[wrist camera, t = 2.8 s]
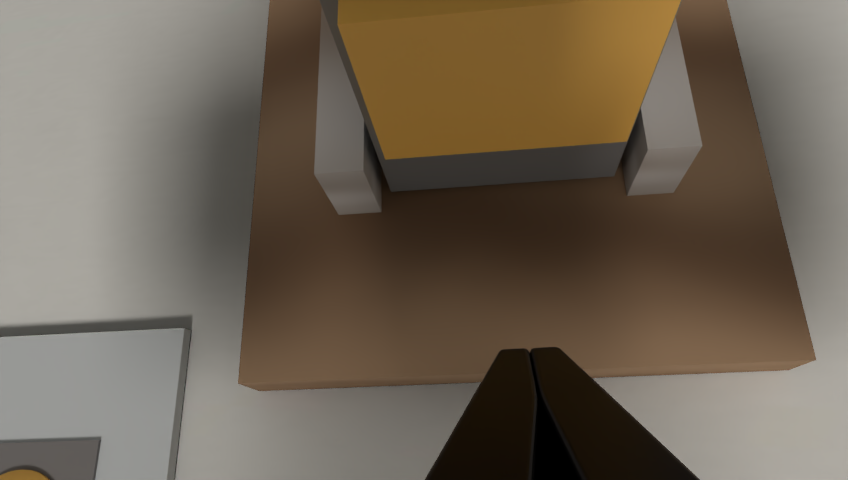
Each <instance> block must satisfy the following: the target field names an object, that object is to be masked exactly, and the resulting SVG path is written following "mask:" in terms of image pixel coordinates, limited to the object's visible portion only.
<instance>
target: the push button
mask: <svg viewBox="0 0 848 480" xmlns="http://www.w3.org/2000/svg"><path fill="white" fill-rule="evenodd" d="M319 1H320V3H321V6H322V9H323V11H324V14H325V17H326V19H327V22H328V25H329V27H330V30H331V33H332V35H333V38H334V41H335V43H336V46H337V49H338V51H339V54H340V57H341V59H342V62H343V65H344V67H345V70H346V73H347V75H348V78H349V81H350V83H351V86H352V89H353V92H354V94H355V97H356V100H357V102H358V105H359V108H360V110H361V113H362V116H363V118H364V121H365V124H366V126H367V129H368V132H369V134H370V137H371V140H372V142H373V145H374V148H375V150H376V153H377V156H378V158H379V161H380V164H381V166H382V169H383V172H384V174H385V177H386V180H387V182H388V185H389V188H390V190H391V192H397V191H411V190H425V189H440V188H454V187H469V186H483V185H498V184H512V183H526V182H541V181H555V180H570V179H584V178H598V177H613V176H615V173H616V170H617V168H618V165H619V163H620V160H621V157H622V155H623V152H624V150H625V147H626V144H627V142H628V139H629V137H630V134H631V131H632V129H633V126H634V124H635V121H636V119H637V116H638V113H639V111H640V108H641V106H642V103H643V100H644V98H645V95H646V93H647V90H648V87H649V85H650V82H651V80H652V77H653V74H654V72H655V69H656V67H657V64H658V61H659V59H660V56H661V54H662V51H663V49H664V46H665V43H666V41H667V38H668V36H669V33H670V30H671V28H672V25H673V23H674V20H675V17H676V15H677V12H678V10H679V7H680V4H681V2H682V0H319Z"/></svg>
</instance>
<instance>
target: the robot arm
mask: <svg viewBox="0 0 848 480" xmlns="http://www.w3.org/2000/svg"><path fill="white" fill-rule="evenodd" d="M425 480H700V479H699V478H697V477H696V476H695V475H694V474H693V473H692V472H691V471H690V470H689V469H688V468H687V467H686V466H685V465H684V464H683V463H681V462H680V461H679V460H678V459H677V458H676V457H675V456H674V455H673V454H672V453H671V452H670V451H669V450H668V449H667V448H666V447H664V446H663V445H662V444H661V443H660V442H659V441H658V440H657V439H656V438H655V437H654V436H653V435H652V434H651V433H650V432H649V431H647V430H646V429H645V428H644V427H643V426H642V425H641V424H640V423H639V422H638V421H637V420H636V419H635V418H634V417H633V416H631V415H630V414H629V413H628V412H627V411H626V410H625V409H624V408H623V407H622V406H621V405H620V404H619V403H618V402H617V401H616V400H614V399H613V398H612V397H611V396H610V395H609V394H608V393H607V392H606V391H605V390H604V389H603V388H602V387H601V386H600V385H599V384H597V383H596V382H595V381H594V380H593V379H592V378H591V377H590V376H589V375H588V374H587V373H586V372H585V371H584V370H583V369H581V368H580V367H579V366H578V365H577V364H576V363H575V362H574V361H573V360H572V359H571V358H570V357H569V356H568V355H567V354H566V353H564V352H563V351H562V350H561V349H560V348H558V347H541V348H532V349H531V351H530V353H529V351H528V350H527V349H525V348H519V349H502V350H500V351H499V353H498V354H497V356H496V358H495V360H494V361H493V363H492V365H491V366H490V368H489V370H488V372H487V373H486V375H485V377H484V379H483V380H482V382H481V384H480V385H479V387H478V389H477V391H476V392H475V394H474V396H473V398H472V399H471V401H470V403H469V404H468V406H467V408H466V410H465V411H464V413H463V415H462V416H461V418H460V420H459V422H458V423H457V425H456V427H455V429H454V430H453V432H452V434H451V435H450V437H449V439H448V441H447V442H446V444H445V446H444V448H443V449H442V451H441V453H440V454H439V456H438V458H437V460H436V461H435V463H434V465H433V467H432V468H431V470H430V472H429V473H428V475H427V477H426V479H425Z"/></svg>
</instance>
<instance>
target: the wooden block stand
mask: <svg viewBox="0 0 848 480" xmlns="http://www.w3.org/2000/svg"><path fill="white" fill-rule="evenodd" d="M541 347H558V348H560V349H561V350H562V351H563V352H564V353H566V354H567V355H568V356H569V357H570V358H571V359H572V360H573V361H574V362H575V363H576V364H577V365H578V366H579V367H580V368H581V369H583V370H584V371H585V372H586V373H587V374H588V375H589V376H590V377H591V378H600V377H625V376H650V375H676V374H701V373H726V372H751V371H777V370H790V369H792V368H795V367H798V366H801V365H803V364H806V363H809V362H811V361H814V360H816V358H815V353H814V349H813V345H812V341H811V337H810V333H809V329H808V325H807V321H806V317H805V313H804V309H803V305H802V301H801V297H800V293H799V289H798V285H797V281H796V277H795V273H794V269H793V265H792V261H791V257H790V253H789V249H788V245H787V241H786V237H785V233H784V229H783V225H782V221H781V217H780V213H779V209H778V205H777V201H776V197H775V193H774V189H773V185H772V181H771V177H770V173H769V169H768V165H767V161H766V157H765V153H764V149H763V145H762V141H761V137H760V133H759V129H758V125H757V121H756V117H755V113H754V109H753V105H752V101H751V97H750V93H749V89H748V85H747V81H746V77H745V73H744V69H743V65H742V61H741V57H740V53H739V49H738V45H737V41H736V37H735V33H734V29H733V25H732V21H731V16H730V12H729V8H728V4H727V0H682V2H681V4H680V7H679V10H678V12H677V15H676V17H675V20H674V23H673V25H672V28H671V30H670V33H669V36H668V38H667V41H666V43H665V46H664V49H663V51H662V54H661V56H660V59H659V61H658V64H657V67H656V69H655V72H654V74H653V77H652V80H651V82H650V85H649V87H648V90H647V93H646V95H645V98H644V100H643V103H642V106H641V108H640V111H639V113H638V116H637V119H636V121H635V124H634V126H633V129H632V131H631V134H630V137H629V139H628V142H627V144H626V147H625V150H624V152H623V155H622V157H621V160H620V163H619V165H618V168H617V170H616V173H615V176H613V177H598V178H584V179H570V180H555V181H541V182H526V183H512V184H498V185H483V186H469V187H454V188H440V189H425V190H411V191H397V192H391V190H390V188H389V185H388V182H387V180H386V177H385V174H384V172H383V169H382V166H381V164H380V161H379V158H378V156H377V153H376V150H375V148H374V145H373V142H372V140H371V137H370V134H369V132H368V129H367V126H366V124H365V121H364V118H363V116H362V113H361V110H360V108H359V105H358V102H357V100H356V97H355V94H354V92H353V89H352V86H351V83H350V81H349V78H348V75H347V73H346V70H345V67H344V65H343V62H342V59H341V57H340V54H339V51H338V49H337V46H336V43H335V41H334V38H333V35H332V33H331V30H330V27H329V25H328V22H327V19H326V17H325V14H324V11H323V9H322V6H321V3H320V1H319V0H270V5H269V17H268V29H267V41H266V53H265V65H264V77H263V89H262V101H261V113H260V125H259V138H258V150H257V162H256V174H255V186H254V198H253V210H252V222H251V234H250V246H249V258H248V270H247V282H246V294H245V307H244V319H243V331H242V343H241V355H240V367H239V379H238V383H239V384H241V385H244V386H247V387H250V388H252V389H255V390H258V391H271V390H296V389H321V388H346V387H372V386H397V385H422V384H448V383H473V382H482V380H483V379H484V377H485V375H486V373H487V372H488V370H489V368H490V366H491V365H492V363H493V361H494V360H495V358H496V356H497V354H498V353H499V351H500V350H502V349H519V348H525V349H527V350H528V351H529V353H530V351H531V349H532V348H541Z"/></svg>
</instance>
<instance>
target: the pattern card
mask: <svg viewBox="0 0 848 480" xmlns="http://www.w3.org/2000/svg"><path fill="white" fill-rule="evenodd" d="M190 335H191V331H190V330H188V329H186V328H170V329H150V330H130V331H110V332H90V333H70V334H50V335H30V336H10V337H0V480H174V477H175V468H176V459H177V450H178V441H179V433H180V424H181V415H182V406H183V397H184V388H185V379H186V371H187V362H188V353H189V344H190Z"/></svg>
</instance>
